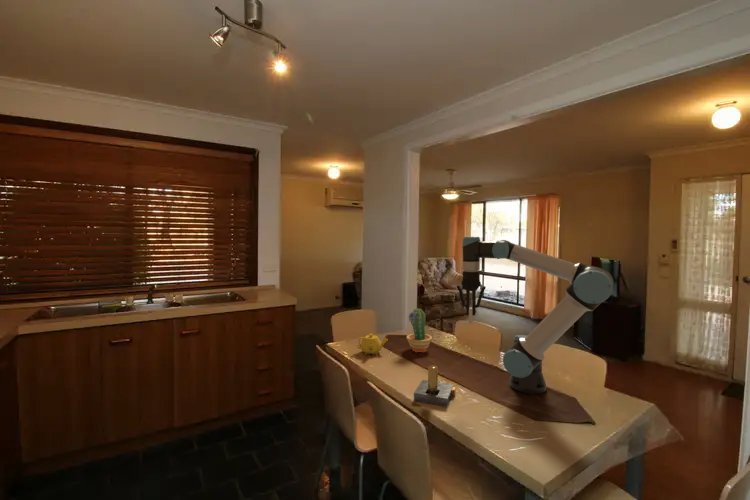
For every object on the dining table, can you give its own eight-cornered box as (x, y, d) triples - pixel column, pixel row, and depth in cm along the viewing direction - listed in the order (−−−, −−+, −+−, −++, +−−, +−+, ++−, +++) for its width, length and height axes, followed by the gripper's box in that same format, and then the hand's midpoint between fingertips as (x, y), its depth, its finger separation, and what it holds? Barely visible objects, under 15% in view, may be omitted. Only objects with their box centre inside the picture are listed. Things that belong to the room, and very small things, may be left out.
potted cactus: (404, 346, 215) (403, 306, 214) (428, 345, 217) (428, 305, 215) (409, 355, 200) (409, 312, 198) (435, 353, 201) (435, 311, 200)
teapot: (371, 359, 194) (370, 339, 194) (355, 353, 204) (354, 334, 203) (388, 352, 204) (388, 334, 204) (372, 347, 214) (372, 329, 213)
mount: (453, 392, 153) (453, 384, 152) (447, 407, 140) (447, 398, 140) (422, 387, 158) (422, 379, 158) (413, 401, 145) (413, 392, 145)
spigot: (438, 398, 147) (438, 366, 146) (436, 402, 143) (436, 369, 143) (429, 396, 149) (429, 364, 148) (426, 401, 145) (427, 368, 144)
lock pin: (455, 394, 151) (455, 387, 151) (454, 397, 148) (454, 390, 148) (425, 388, 156) (425, 382, 156) (423, 391, 153) (423, 385, 153)
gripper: (486, 270, 158) (486, 321, 159) (457, 269, 163) (457, 319, 164) (485, 272, 151) (485, 325, 152) (455, 271, 156) (455, 322, 157)
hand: (470, 322), depth 158 cm, fingers closed
